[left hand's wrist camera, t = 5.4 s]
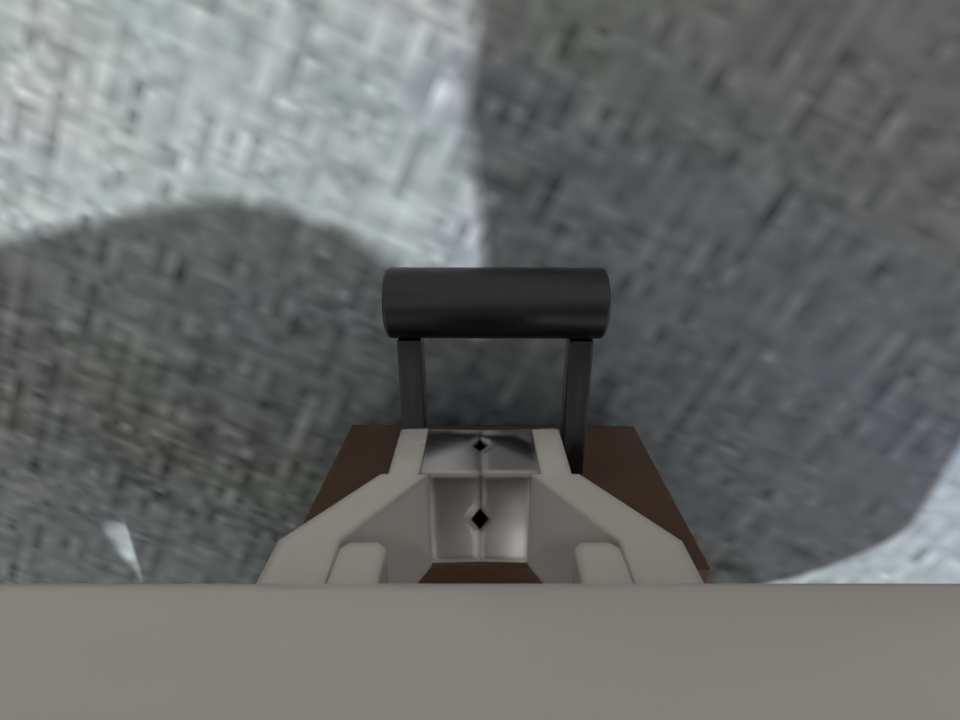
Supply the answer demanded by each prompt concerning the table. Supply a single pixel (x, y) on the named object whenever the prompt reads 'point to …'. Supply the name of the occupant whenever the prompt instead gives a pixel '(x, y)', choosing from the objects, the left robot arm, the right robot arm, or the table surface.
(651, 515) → the drawer
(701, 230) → the table surface
